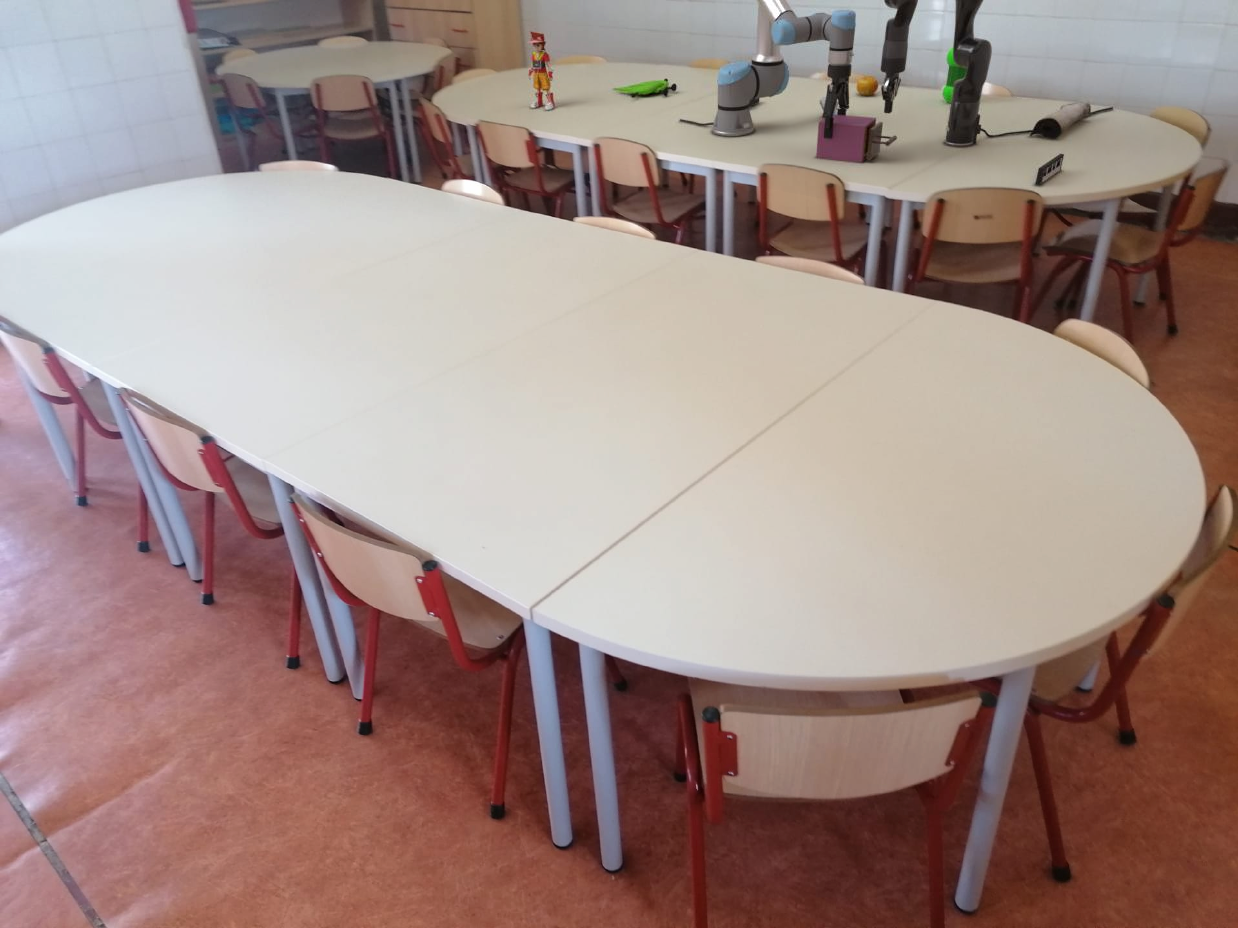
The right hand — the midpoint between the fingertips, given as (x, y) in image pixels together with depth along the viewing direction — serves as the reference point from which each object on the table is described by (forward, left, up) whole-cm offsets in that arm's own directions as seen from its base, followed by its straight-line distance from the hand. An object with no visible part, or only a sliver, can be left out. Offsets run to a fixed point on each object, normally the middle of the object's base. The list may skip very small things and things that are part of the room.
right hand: (887, 112), depth 290 cm
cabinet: (+10, -9, -15) cm, 20 cm away
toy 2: (+56, -129, -15) cm, 142 cm away
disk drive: (+23, -88, -15) cm, 92 cm away
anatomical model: (-4, -55, -15) cm, 57 cm away
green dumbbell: (-57, -61, -15) cm, 85 cm away
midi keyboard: (-38, +35, -15) cm, 54 cm away
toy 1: (+101, -119, -15) cm, 157 cm away
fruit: (-31, -86, -15) cm, 92 cm away
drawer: (+5, -5, -14) cm, 16 cm away
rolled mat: (-72, -13, -15) cm, 75 cm away
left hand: (+13, -12, -8) cm, 19 cm away
